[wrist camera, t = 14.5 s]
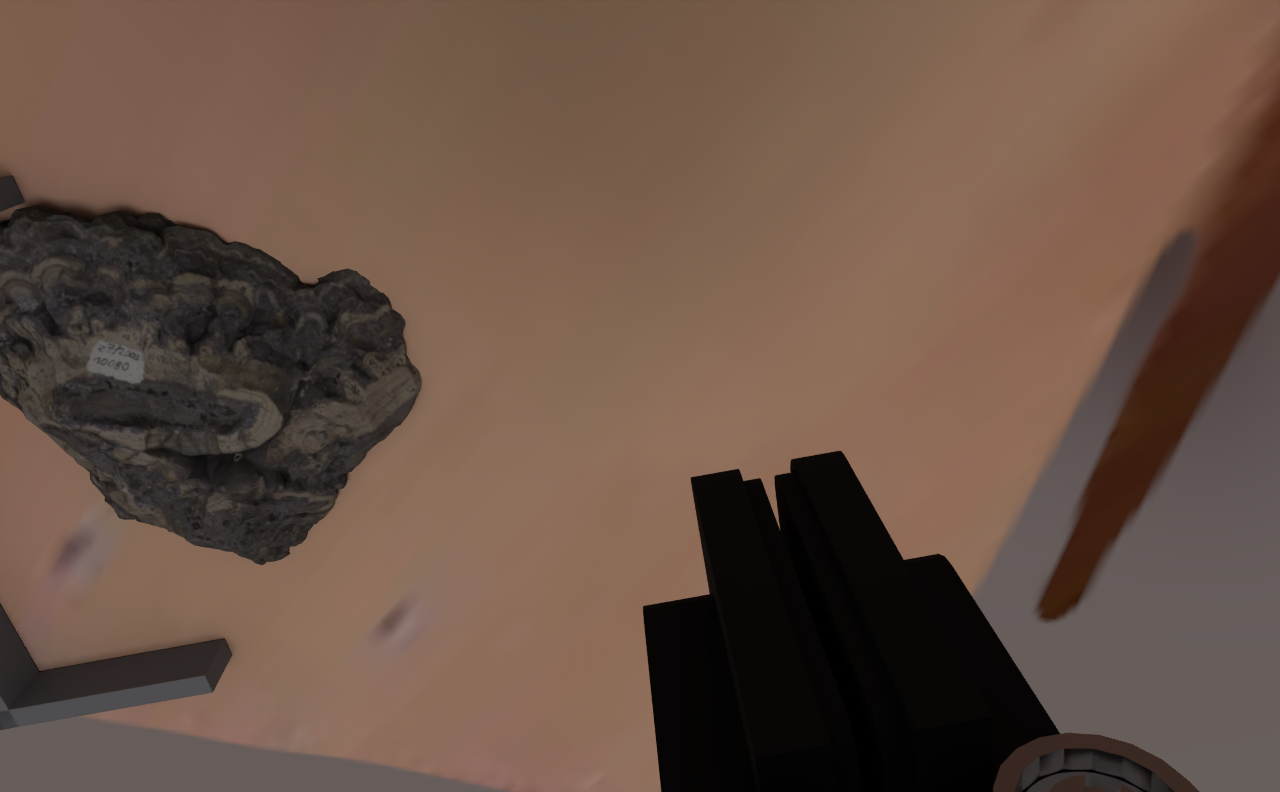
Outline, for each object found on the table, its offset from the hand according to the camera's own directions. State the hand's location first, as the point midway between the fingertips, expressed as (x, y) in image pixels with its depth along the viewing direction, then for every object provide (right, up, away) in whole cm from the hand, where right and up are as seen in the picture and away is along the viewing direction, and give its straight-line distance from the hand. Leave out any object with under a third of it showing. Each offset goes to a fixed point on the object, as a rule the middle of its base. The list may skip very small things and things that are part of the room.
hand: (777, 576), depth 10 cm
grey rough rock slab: (-21, +2, +28) cm, 35 cm away
